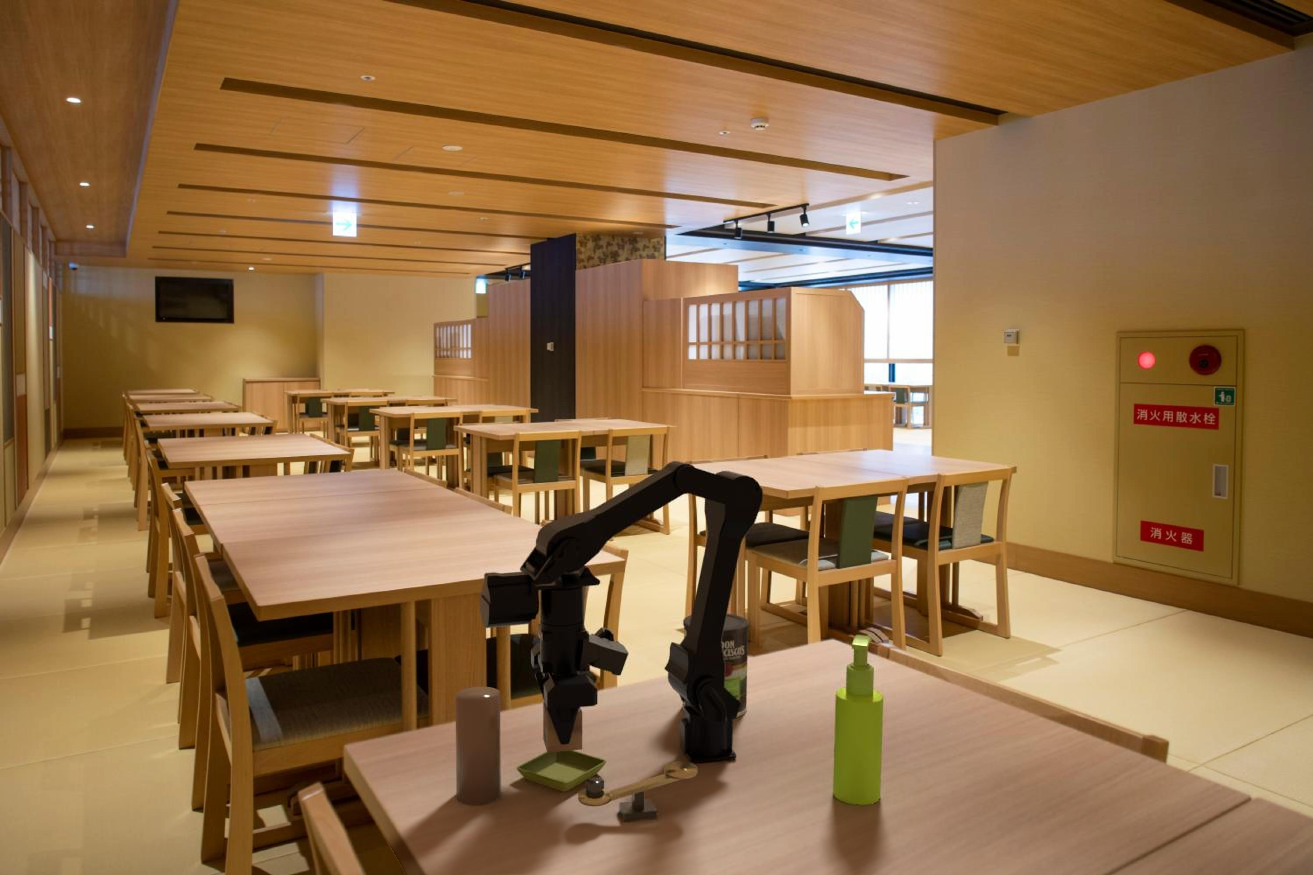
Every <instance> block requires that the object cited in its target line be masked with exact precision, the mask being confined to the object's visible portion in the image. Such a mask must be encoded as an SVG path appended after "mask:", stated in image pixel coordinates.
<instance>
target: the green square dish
mask: <svg viewBox="0 0 1313 875" xmlns="http://www.w3.org/2000/svg"><path fill="white" fill-rule="evenodd" d="M605 764H607V760H606V759H604V758H600V757H598V756H594V755H590V754H587V753H583V752H580V751H578V750H571V751H560V752H549V753H548V752H547V750H546V751H545V752H543V753H541V754H539V755H537V756H536V757H533V758H531V759H529V760H527V761H526V762H523V763H522V764H519V765H518V766H516V768H515V769H516V770H517V772H518V773H519V774H520V775H521V776H522V777H523V778H525V779H526V780H527V781H530V782H533V783H537V784H539V785H542V786H546V787H548V788H551V789H554V790H558V791H560V792H564V793H565V792H568V791H570V790H571V789H573V788H575V787H577V786H579V785H580V784H582V783H584V782H586V780H587V779H589V778H593V777H594V776H596V775H597V774H598V773H599V772H600V771H601V770H602V768H604V766H605Z"/></svg>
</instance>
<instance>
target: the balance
mask: <svg viewBox="0 0 1313 875" xmlns="http://www.w3.org/2000/svg"><path fill="white" fill-rule="evenodd" d="M697 775H698V767H697V765H695V764H694V763H693V762H688V761H682V760H681V761H680V760H679V761H673V762H668V763H667V764H666V765H665V766H664V773H663V774H660V775H656V776H653V777H650V778H649V777H648V778H646V779H643V780H640V781H636V782H634V783H631V784H627V785H624V786H621V787H618V788H614V789H611V790H609V789H607V788H605V780H604V779H603V778H601V777H594V776H593V777H591V778H589V779H587V780H586V781H585V787H584V788H583V789H581V790H580V791H579V792H578V794H577V799H578V800H577V801H578V802H579V803H580V804H581V805H584V806H587V807H601V806H605V805H608V804H609V803H610V802H613V801H616V800H619V799H622V798H626V797H629V796H631V797H632V798H631V801H629V800H628V801H620V802H619V809H618V811H619V813H620V815H621V817H622V820H623V822H624V823H628V822H638V821H646V820H657V819H658V810H657V807H656V805H655V803H654V802H653V799H652V798H650V799H645V791H648V790H652V789H655V788H658V787H661V786H663V785H664V786H665V785H668V784H671V783H674V782H677V781H680V780H690V779H692V778H695V777H696V776H697Z"/></svg>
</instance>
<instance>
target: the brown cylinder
mask: <svg viewBox="0 0 1313 875" xmlns="http://www.w3.org/2000/svg"><path fill="white" fill-rule="evenodd" d="M454 706H455V707H454V708H455V768H456V769H455V776H456V778H455V782H456V785H455V786H456V788H455V790H456V792H455V793H456V800H457V801H458V802H459V803H461V804H464V805H468V806H482V805H487V804H490V803H493V802H495V801H496V800H498V799H499V798H500V797H501V795H502V784H501V783H502V774H501V773H502V772H501V771H502V769H501V767H502V761H501V760H502V759H501V757H502V756H501V752H502V750H501V749H502V748H501V734H502V733H501V730H502V729H501V692H500V690H499V689H497V688H494V687H489V686H473V687H467V688H463V689H461V690H459V691H457V692H456V693H455V705H454Z"/></svg>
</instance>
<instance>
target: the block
mask: <svg viewBox="0 0 1313 875" xmlns="http://www.w3.org/2000/svg"><path fill="white" fill-rule="evenodd" d="M542 704H543V706H542V711H543V712H542V718H543V719H542V723H543V729H542V736H543V737H542V740H543V742H544V745H545V749H546V751H547V752H548V753H549V752H560V751H571V750H574V751H581V750H583V710H582V707H580V708H579V710H578V713H577V716H576V720H575V723H574V727H573V731H572V735H571V739H570V742H569V744H564V745H562V744H561V743H560V741H559V738H558V736H557V733H556V731H555V728H554V725H553V723H552V721H551V718H550V715H549V713H548V710H547V708H546V705H545V703H544V701H543V702H542Z"/></svg>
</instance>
